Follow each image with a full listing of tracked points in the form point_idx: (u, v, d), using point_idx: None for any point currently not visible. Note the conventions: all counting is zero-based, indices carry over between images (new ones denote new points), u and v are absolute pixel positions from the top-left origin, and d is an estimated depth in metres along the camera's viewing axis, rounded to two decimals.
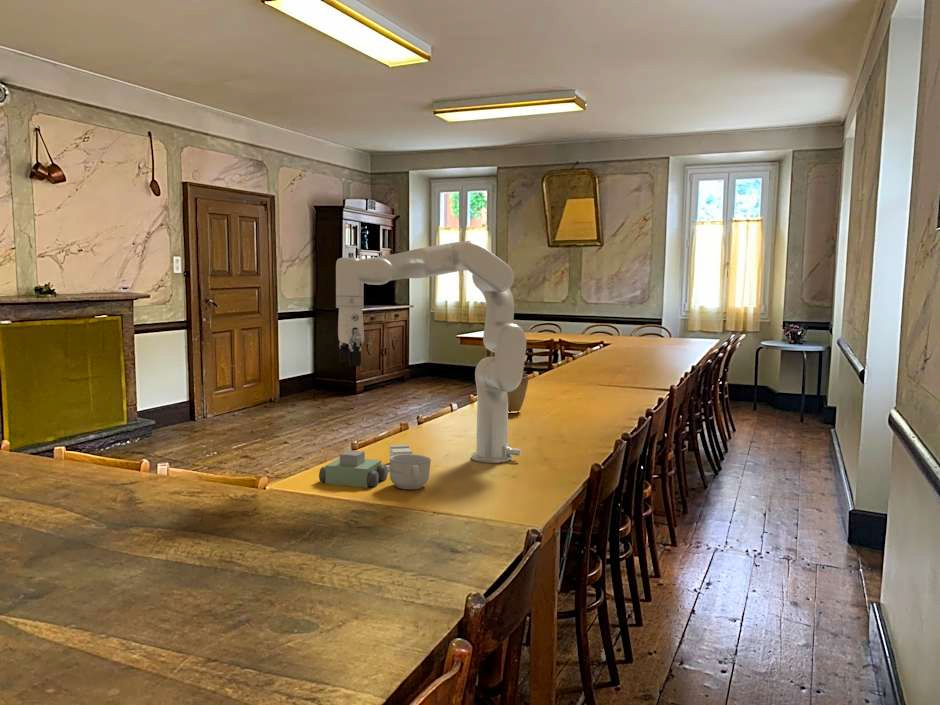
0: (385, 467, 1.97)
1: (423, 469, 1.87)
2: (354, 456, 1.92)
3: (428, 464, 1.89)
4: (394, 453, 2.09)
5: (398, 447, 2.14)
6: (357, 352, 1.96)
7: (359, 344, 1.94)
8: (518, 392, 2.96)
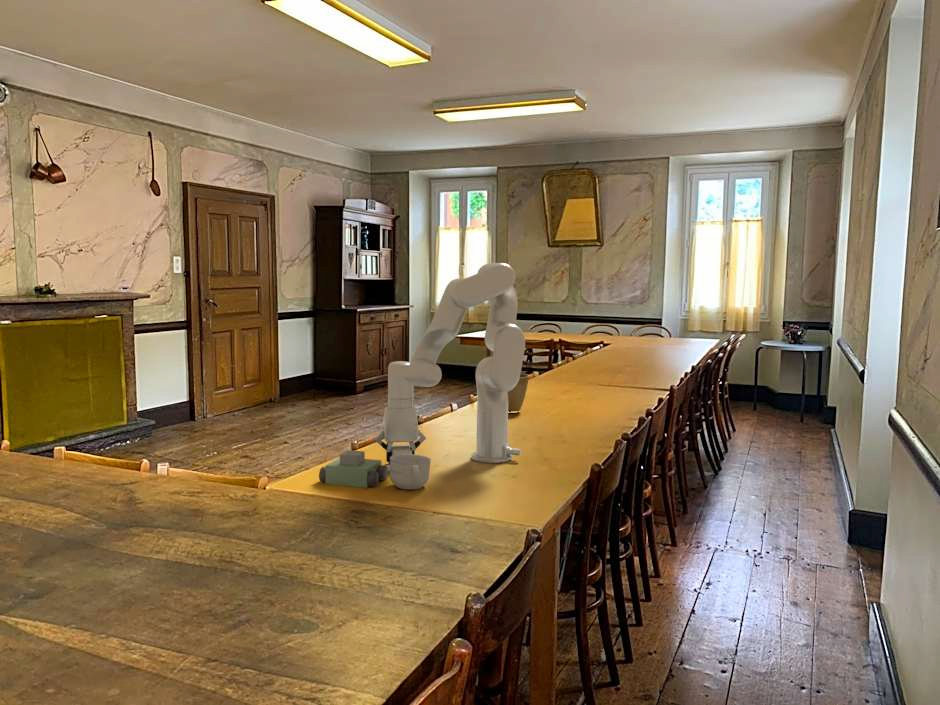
0: (385, 467, 1.97)
1: (423, 469, 1.87)
2: (354, 456, 1.92)
3: (428, 464, 1.89)
4: (394, 453, 2.09)
5: (398, 447, 2.14)
6: None
7: None
8: (518, 392, 2.96)
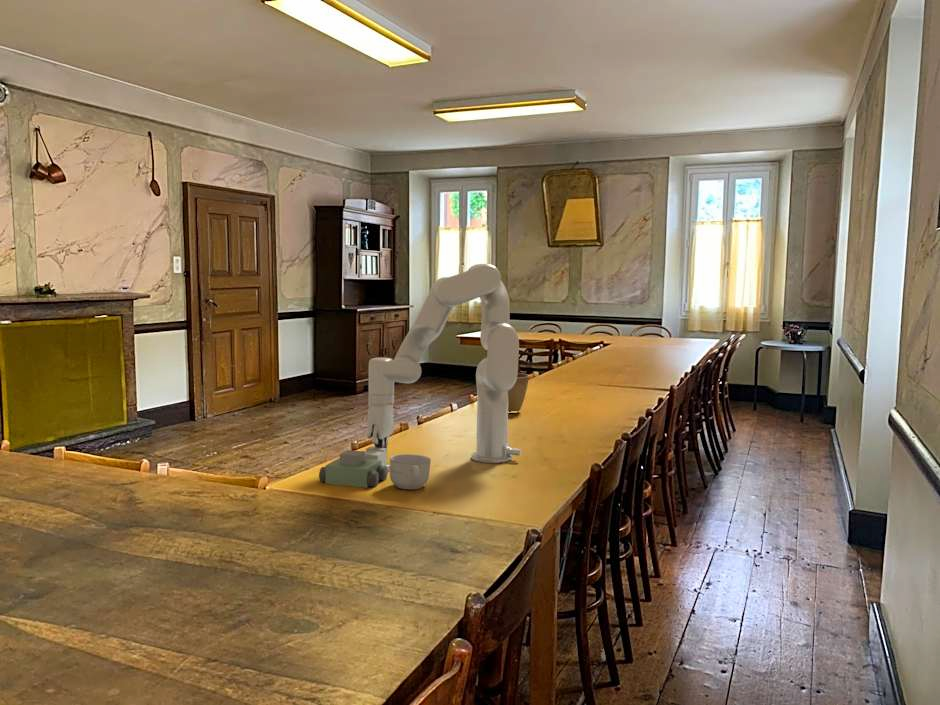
0: (385, 467, 1.97)
1: (423, 469, 1.87)
2: (354, 456, 1.92)
3: (428, 464, 1.89)
4: None
5: (373, 450, 2.10)
6: None
7: None
8: (518, 392, 2.96)
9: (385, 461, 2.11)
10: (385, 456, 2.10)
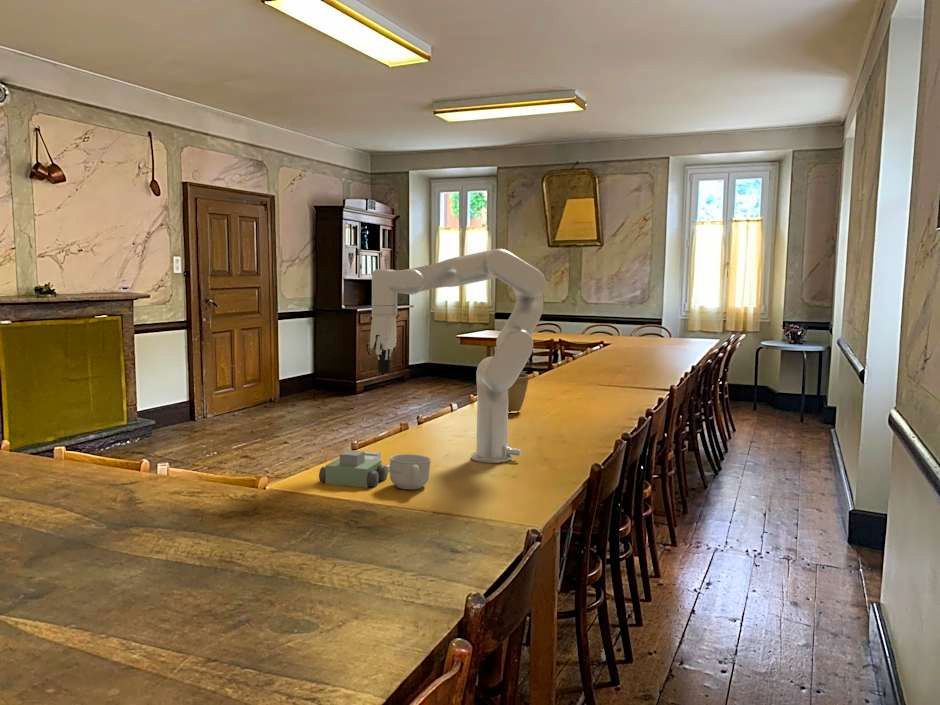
0: (385, 467, 1.97)
1: (423, 469, 1.87)
2: (354, 456, 1.92)
3: (428, 464, 1.89)
4: None
5: (366, 454, 2.05)
6: None
7: None
8: (518, 392, 2.96)
9: None
10: None
